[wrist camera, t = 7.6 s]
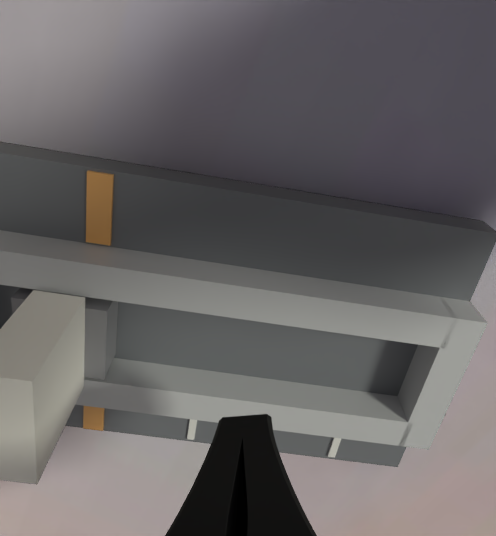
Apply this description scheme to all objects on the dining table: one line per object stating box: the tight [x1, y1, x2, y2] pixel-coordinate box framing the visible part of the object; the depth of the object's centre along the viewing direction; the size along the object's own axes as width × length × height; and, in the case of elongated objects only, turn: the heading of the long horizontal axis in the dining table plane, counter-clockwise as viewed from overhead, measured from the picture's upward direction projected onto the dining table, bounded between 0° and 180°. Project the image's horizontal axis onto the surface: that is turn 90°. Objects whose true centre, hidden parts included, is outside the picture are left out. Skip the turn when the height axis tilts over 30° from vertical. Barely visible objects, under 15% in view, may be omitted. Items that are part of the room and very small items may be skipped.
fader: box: [0, 288, 118, 484], centre depth 14 cm, size 3×4×6 cm
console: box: [0, 142, 496, 467], centre depth 17 cm, size 18×11×3 cm, turn 81°
